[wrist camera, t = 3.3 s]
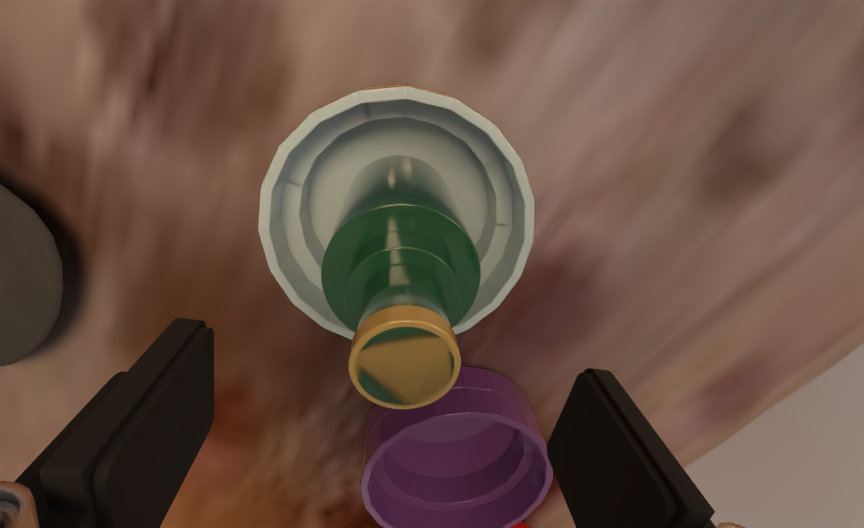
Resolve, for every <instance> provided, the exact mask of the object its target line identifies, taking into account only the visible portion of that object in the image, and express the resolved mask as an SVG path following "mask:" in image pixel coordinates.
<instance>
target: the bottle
mask: <svg viewBox="0 0 864 528" xmlns="http://www.w3.org/2000/svg"><path fill="white" fill-rule="evenodd" d="M480 278H481V267H480V261H479V257H478V254H477V250H476V248H475V246H474V243H473V241H472V239H471V237H470V235H469V232H468V230H467V228H466V226H465V224H464V222H463V219H462V217H461V215H460V213H459V211H458V208H457V206H456V204H455V202H454V200H453V197H452V195H451V193H450V191H449V189H448V187H447V184H446V182H445V181H444V179H443V178H442V176H441V175H440V174H439V173H438V172H437V171H436V170H435V169H434V168H433V167H432V166H430V165H429V164H427V163H426V162H424V161H422V160H420V159H417V158H414V157H410V156H403V155H395V156H388V157H383V158H381V159H378V160H376V161H374V162H372V163H370V164H369V165H367V166H366V167H365V168H363V169H362V170H361V171H360V172H359V174H358V175H357V176H356V177H355V179H354V181H353V182H352V184H351V187H350V189H349V192H348V194H347V197H346V199H345V202H344V205H343V207H342V210H341V212H340V215H339V217H338V220H337V223H336V225H335V228H334V230H333V233H332V236H331V238H330V241H329V243H328V246H327V249H326V251H325V254H324V257H323V261H322V267H321V283H322V288H323V292H324V295H325V298H326V300H327V302H328V304H329V306H330V308H331V310H332V311H333V312H334V314H335V315H336V317H337V318H338V319H339V320H340V321H341V322H342V323H343V324H344V325H345V326H347V327H348V328H349V329H350V330H352V331H353V332H355V334H354V336H353V339H352V342H351V348H350V355H349V361H348V370H349V375H350V378H351V380H352V382H353V384H354V386H355V388H356V389H357V390H358V391H359V392H360V393H361V394H362V395H363V396H364V397H365V398H367V399H368V400H369V401H371V402H373V403H375V404H377V405H380V406H383V407H386V408H392V409H414V408H419V407H422V406H425V405H428V404H430V403H433V402H435V401H436V400H438V399H440V398H441V397H442V396H444V395H445V394H446V393H447V392H448V391H449V390H450V389H451V388H452V386H453V385H454V383H455V382H456V380H457V377H458V375H459V372H460V367H461V356H460V352H459V347H458V343H457V339H456V335H455V333H454V331H453V329H452V328H453V327H454V326H455V325H457V324H458V323H459V322H460V321H461V320H462V319H463V318H464V316H465V315H466V314H467V312H468V311H469V310H470V308H471V306H472V305H473V303H474V301H475V298H476V296H477V293H478V289H479V286H480Z"/></svg>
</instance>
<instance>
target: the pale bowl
mask: <svg viewBox="0 0 864 528" xmlns="http://www.w3.org/2000/svg"><path fill="white" fill-rule="evenodd" d="M395 155H403V156H410V157H414V158H417V159H420V160H422V161H424V162H426V163H427V164H429V165H430V166H432V167H433V168H434V169H435V170H436V171H437V172H438V173H439V174H440V175H441V176H442V178H443V179H444V181H445V182H446V184H447V187H448V189H449V191H450V193H451V195H452V197H453V200H454V202H455V204H456V206H457V208H458V211H459V213H460V215H461V217H462V219H463V222H464V224H465V226H466V228H467V230H468V232H469V235H470V237H471V239H472V241H473V243H474V246H475V248H476V250H477V254H478V257H479V261H480V267H481V278H480V286H479V289H478V293H477V296H476V298H475V301H474V303H473V305H472V306H471V308H470V310H469V311H468V312H467V314H466V315H465V316H464V318H463V319H462V320H461V321H460V322H459V323H458V324H457V325H455V326H454V327H453V328H452V329H453V331H454V333H455V335H456V334H458V333H461V332H463V331H466V330H468V329H470V328H471V327H472V326H474V325H475V324H476V323H478V322H479V321H480V320H481V319H483V318H484V317H485V316H487V315H488V314H489V313H491V312H492V311H493V310H495V309H496V308H497V307H498V306H499V305H500V304H501V302H502V301H503V300H504V298H505V297H506V296H507V294H508V293H509V292H510V290H511V289H512V288H513V286H514V285H515V284H516V282H517V281H518V280H519V278H520V277H521V274H522V272H523V269H524V266H525V263H526V260H527V258H528V255H529V252H530V249H531V246H532V244H533V240H534V205H535V202H534V197H533V194H532V191H531V188H530V184H529V181H528V178H527V175H526V172H525V169H524V165H523V162H522V161H521V158H520V157H519V156H518V154H517V153H516V152H515V150H514V149H513V148H512V146H511V145H510V144H509V143H508V141H507V140H506V139H505V137H504V136H503V135H502V133H501V132H500V131H499V129H498V128H497V127H496V125H494V124H493V123H492V122H490V121H489V120H487V119H486V118H484V117H483V116H481V115H480V114H478V113H477V112H475V111H474V110H472V109H471V108H469V107H468V106H466V105H465V104H463V103H462V102H460V101H459V100H457V99H455V98H453V97H451V96H449V95H446V94H444V93H441V92H437V91H433V90H429V89H425V88H421V87H417V86H413V85H409V84H392V85H382V86H371V87H365V88H361V89H359V90H357V91H355V92H353V93H351V94H349V95H346V96H344V97H342V98H340V99H338V100H336V101H334V102H332V103H330V104H327V105H325V106H323V107H321V108H319V109H317V110H315V111H313V112H312V113H311V114H310V115H309V116H308V117H307V118H306V119H305V120H304V121H303V122H302V123H301V124H300V125H299V126H298V127H297V128H296V129H295V130H294V131H293V132H292V133H291V134H290V135H289V136H288V137H287V138H286V139H285V140H284V141H283V142H282V143H281V144H280V146H279V147H278V149H277V151H276V154H275V156H274V158H273V160H272V163H271V165H270V167H269V169H268V172H267V174H266V176H265V179H264V181H263V183H262V185H261V190H260V206H259V223H258V230H259V231H258V232H259V235H260V239H261V242H262V246H263V249H264V252H265V256H266V259H267V263H268V266H269V269H270V271H271V273H272V274H273V276H274V277H275V279H276V280H277V282H278V283H279V285H280V286H281V287H282V289H283V290H284V292H285V293H286V295H287V296H288V298H289V299H290V301H291V302H292V303H293V304H294V305H295V306H296V307H298V308H299V309H300V310H301V311H303V312H304V313H305V314H306V315H308V316H309V317H310V318H311V319H313V320H314V321H315V322H316V323H318V324H319V325H320V326H321V327H323V328H325V329H327V330H329V331H332V332H334V333H337V334H339V335H341V336H344V337H346V338H348V339H351V340H352V339H353V336H354V334H355V332H353V331H352V330H350V329H349V328H348V327H347V326H345V325H344V324H343V323H342V322H341V321H340V320H339V319H338V318H337V317H336V315H335V314H334V312H333V311H332V310H331V308H330V306H329V304H328V302H327V300H326V298H325V295H324V292H323V288H322V283H321V267H322V261H323V257H324V254H325V251H326V249H327V246H328V243H329V241H330V238H331V236H332V233H333V230H334V228H335V225H336V223H337V220H338V217H339V215H340V212H341V210H342V207H343V205H344V202H345V199H346V197H347V194H348V192H349V189H350V187H351V184H352V182H353V181H354V179H355V177H356V176H357V175H358V174H359V172H360V171H361V170H362V169H363V168H365V167H366V166H367V165H369V164H370V163H372V162H374V161H376V160H378V159H381V158H383V157H388V156H395Z"/></svg>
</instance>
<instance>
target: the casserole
mask: <svg viewBox="0 0 864 528" xmlns="http://www.w3.org/2000/svg"><path fill="white" fill-rule="evenodd" d="M63 291H64V287H63V273H62V262H61V259H60V256H59V253H58V250H57V247H56V244H55V241H54V238H53V235H52V234H51V233H50V231H49V230H48V229H47V227H46V226H45V224H44V223H43V222H42V220H41V219H40V218H39V216H38V215H37V214H36V212H35V211H34V210H33V209H32V208H31V207H29V206H28V205H27V204H25V203H24V202H23V201H22V200H20V199H19V198H18V197H16V196H15V195H14V194H13V193H11V192H10V191H9V190H7V189H6V188H5V187H4V186H2V185H1V184H0V366H4V365H10V364H13V363H15V362H17V361H19V360H20V359H22V358H24V357H26V356H27V355H29V354H31V353H32V352H33V351H34V350H35V349H36V348H37V347H38V346H39V345H40V344H41V343H42V342H43V341H44V340H45V339H46V338H47V336H48V335H49V333H50V331H51V329H52V327H53V325H54V323H55V321H56V320H57V318H58V316H59V312H60V306H61V301H62V296H63Z"/></svg>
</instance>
